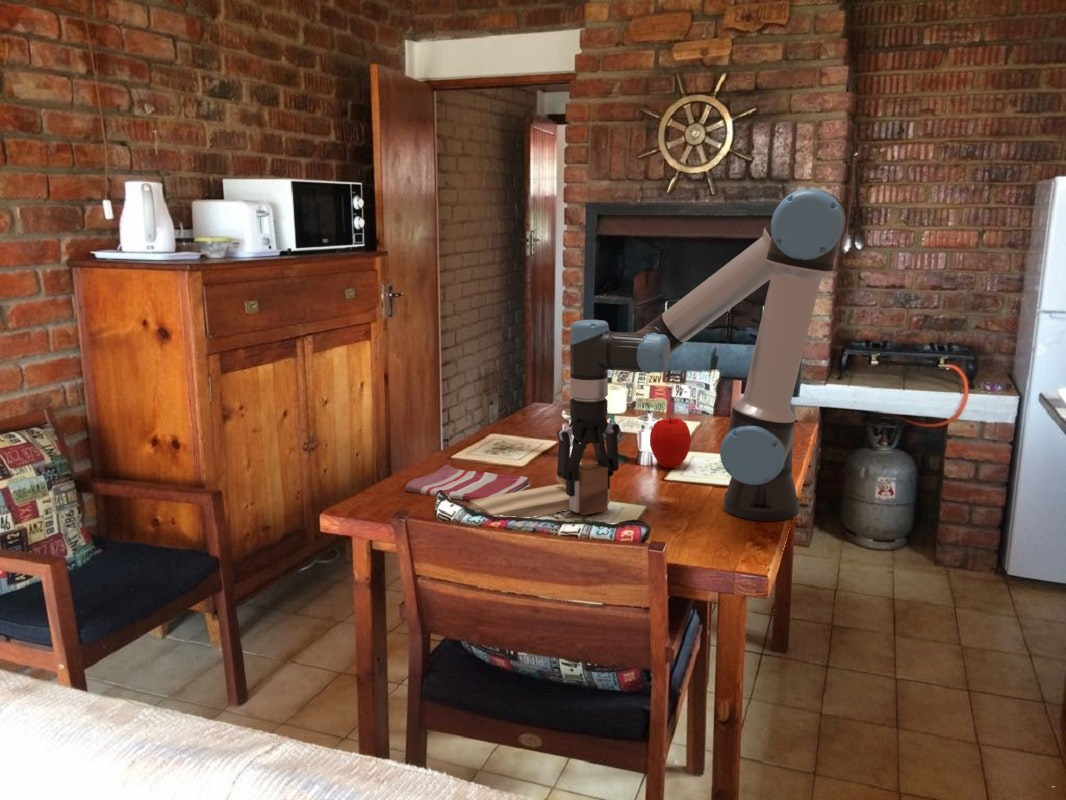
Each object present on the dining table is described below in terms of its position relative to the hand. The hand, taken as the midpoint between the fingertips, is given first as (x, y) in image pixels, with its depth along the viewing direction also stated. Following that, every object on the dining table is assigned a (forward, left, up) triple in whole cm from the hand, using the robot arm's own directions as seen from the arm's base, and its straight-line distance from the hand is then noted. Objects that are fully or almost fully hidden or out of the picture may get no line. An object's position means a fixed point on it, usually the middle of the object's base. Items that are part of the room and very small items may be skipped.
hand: (588, 507), depth 185 cm
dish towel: (+28, +14, -2) cm, 31 cm away
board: (+8, +7, -1) cm, 10 cm away
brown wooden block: (+4, 0, 0) cm, 4 cm away
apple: (+18, -35, -1) cm, 40 cm away
